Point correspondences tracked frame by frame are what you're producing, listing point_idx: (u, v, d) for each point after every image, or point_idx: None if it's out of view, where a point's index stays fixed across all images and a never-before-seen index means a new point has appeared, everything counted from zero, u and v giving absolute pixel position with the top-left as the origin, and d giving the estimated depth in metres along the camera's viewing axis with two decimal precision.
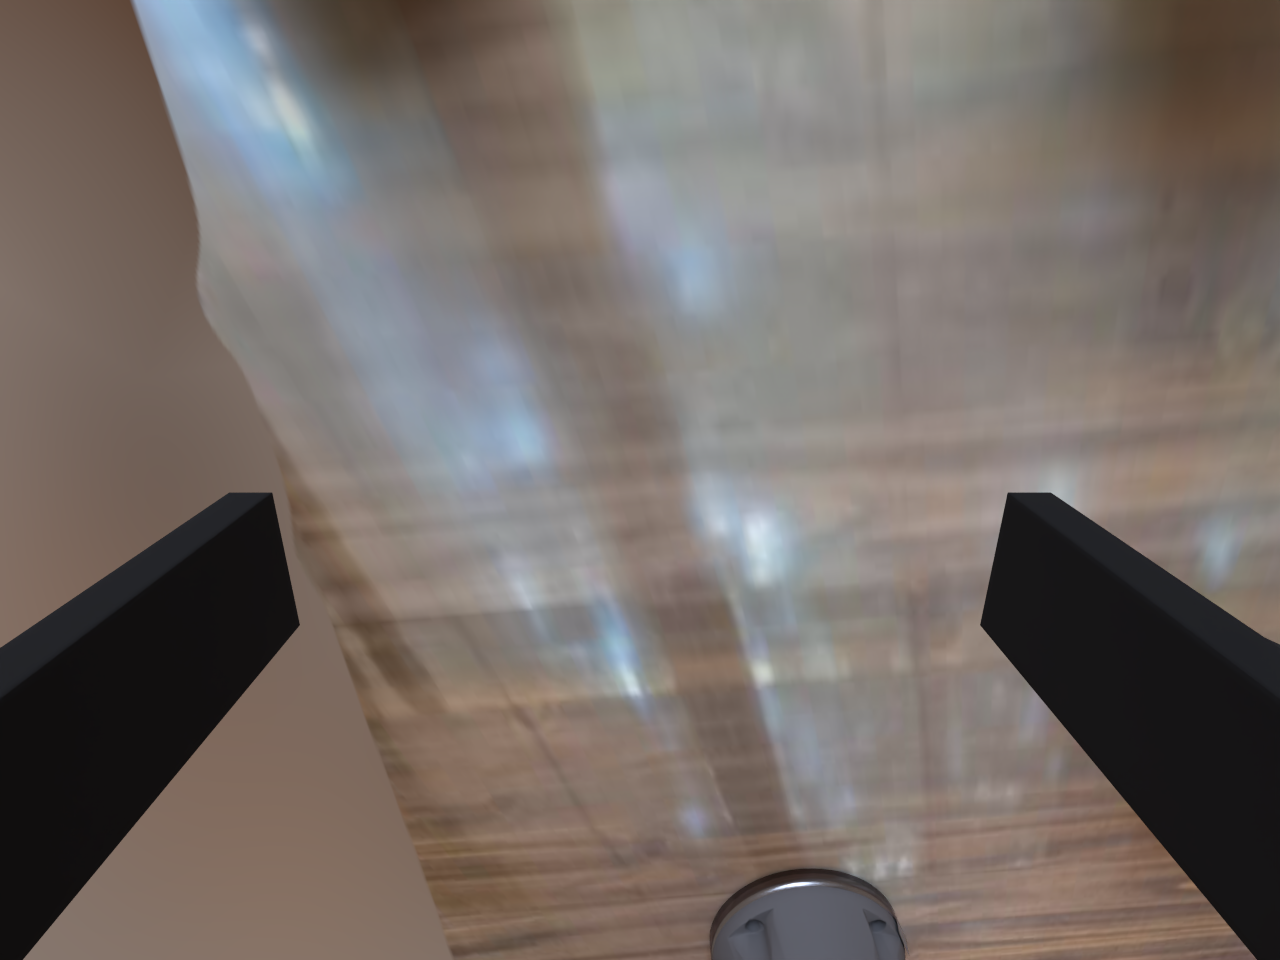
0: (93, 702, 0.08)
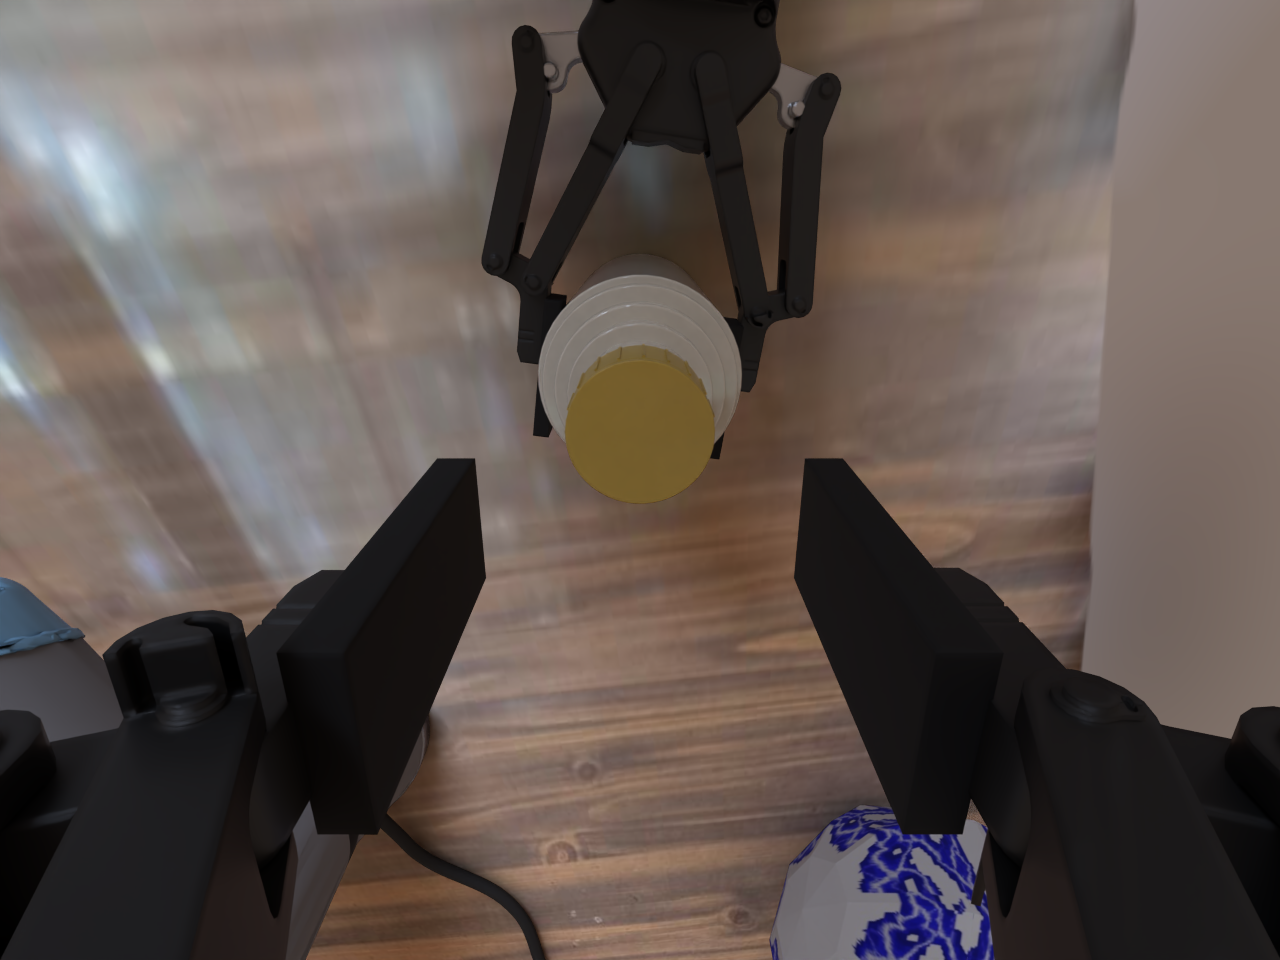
0: (407, 618, 0.10)
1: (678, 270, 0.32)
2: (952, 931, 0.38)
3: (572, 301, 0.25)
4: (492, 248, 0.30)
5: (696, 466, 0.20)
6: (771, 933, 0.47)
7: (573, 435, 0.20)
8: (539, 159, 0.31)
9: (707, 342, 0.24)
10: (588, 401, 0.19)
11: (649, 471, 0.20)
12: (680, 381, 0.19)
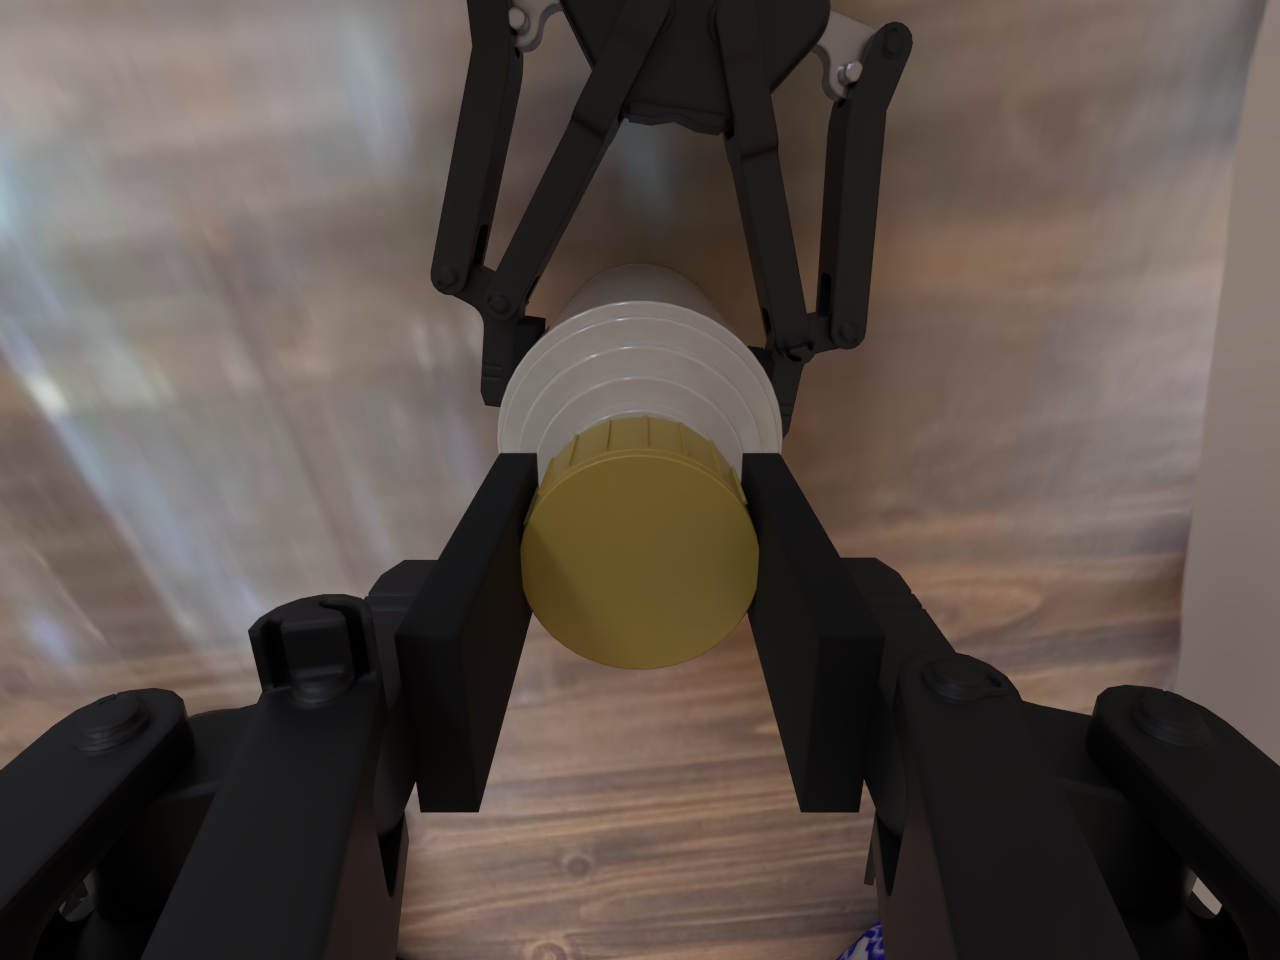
0: (496, 605, 0.10)
1: (689, 287, 0.25)
2: None
3: (543, 338, 0.18)
4: (444, 259, 0.23)
5: (729, 615, 0.13)
6: None
7: (532, 570, 0.12)
8: (507, 142, 0.24)
9: (737, 400, 0.16)
10: (555, 519, 0.12)
11: (654, 623, 0.13)
12: (706, 488, 0.12)
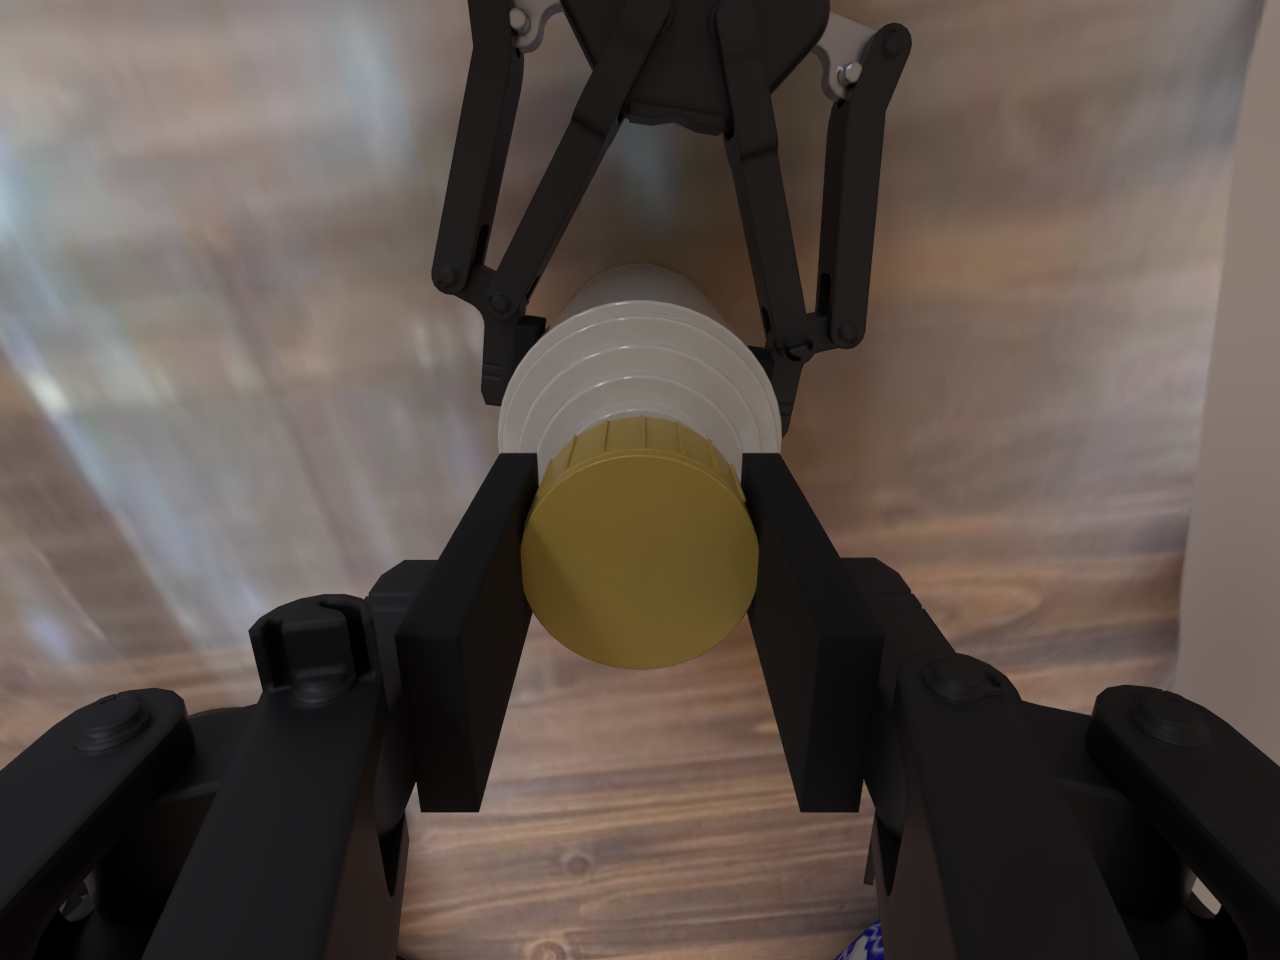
0: (496, 605, 0.10)
1: (689, 286, 0.25)
2: None
3: (544, 337, 0.18)
4: (445, 259, 0.23)
5: (686, 478, 0.12)
6: None
7: (651, 658, 0.13)
8: (508, 142, 0.24)
9: (737, 399, 0.16)
10: (595, 643, 0.13)
11: (701, 549, 0.12)
12: (543, 520, 0.12)
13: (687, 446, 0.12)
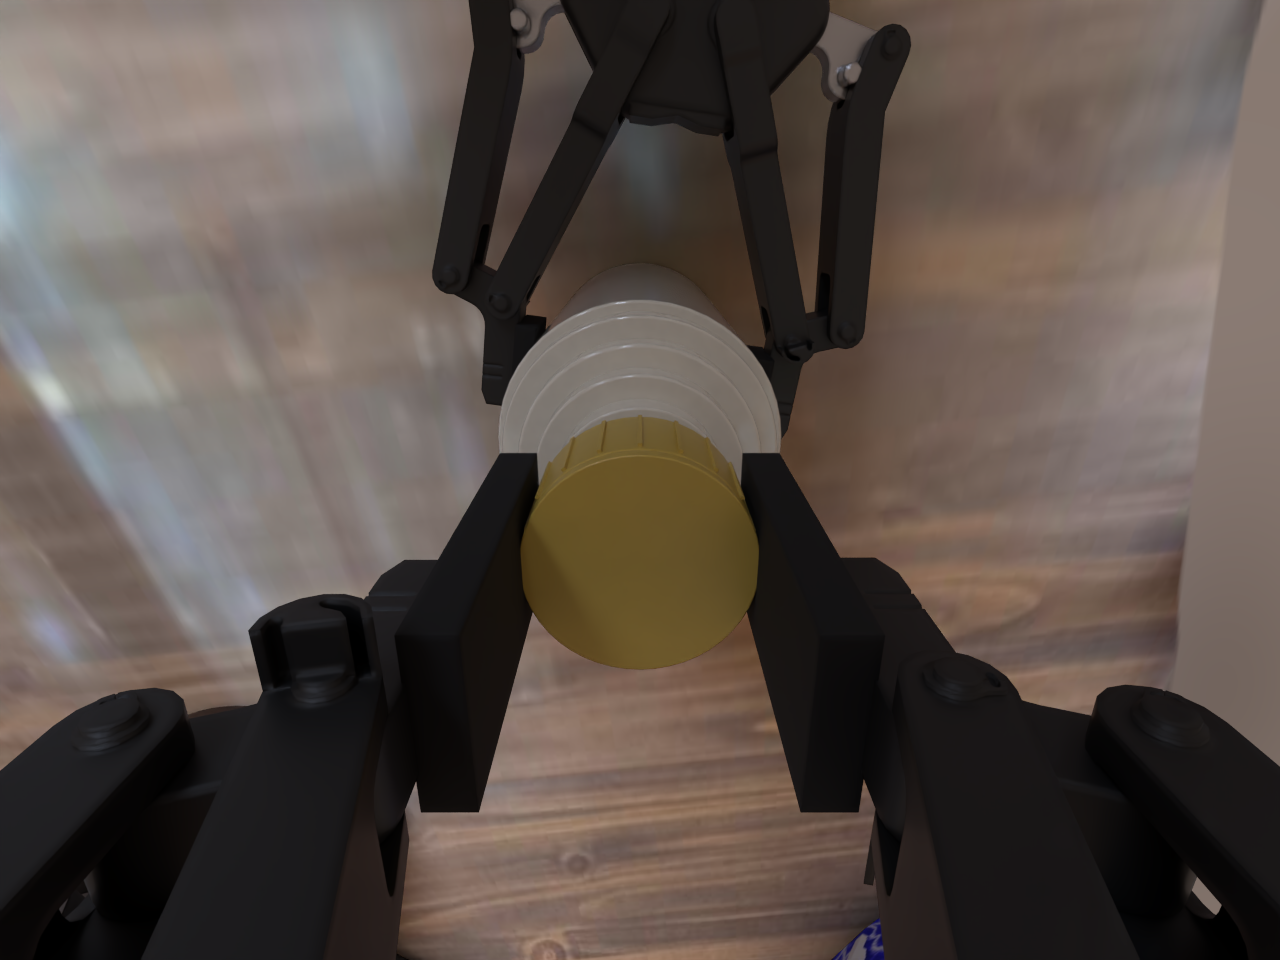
0: (496, 605, 0.10)
1: (689, 286, 0.25)
2: None
3: (544, 336, 0.18)
4: (446, 258, 0.23)
5: (536, 539, 0.12)
6: None
7: (745, 548, 0.12)
8: (508, 142, 0.24)
9: (737, 398, 0.17)
10: (729, 602, 0.12)
11: (610, 516, 0.12)
12: (598, 652, 0.13)
13: (531, 512, 0.13)
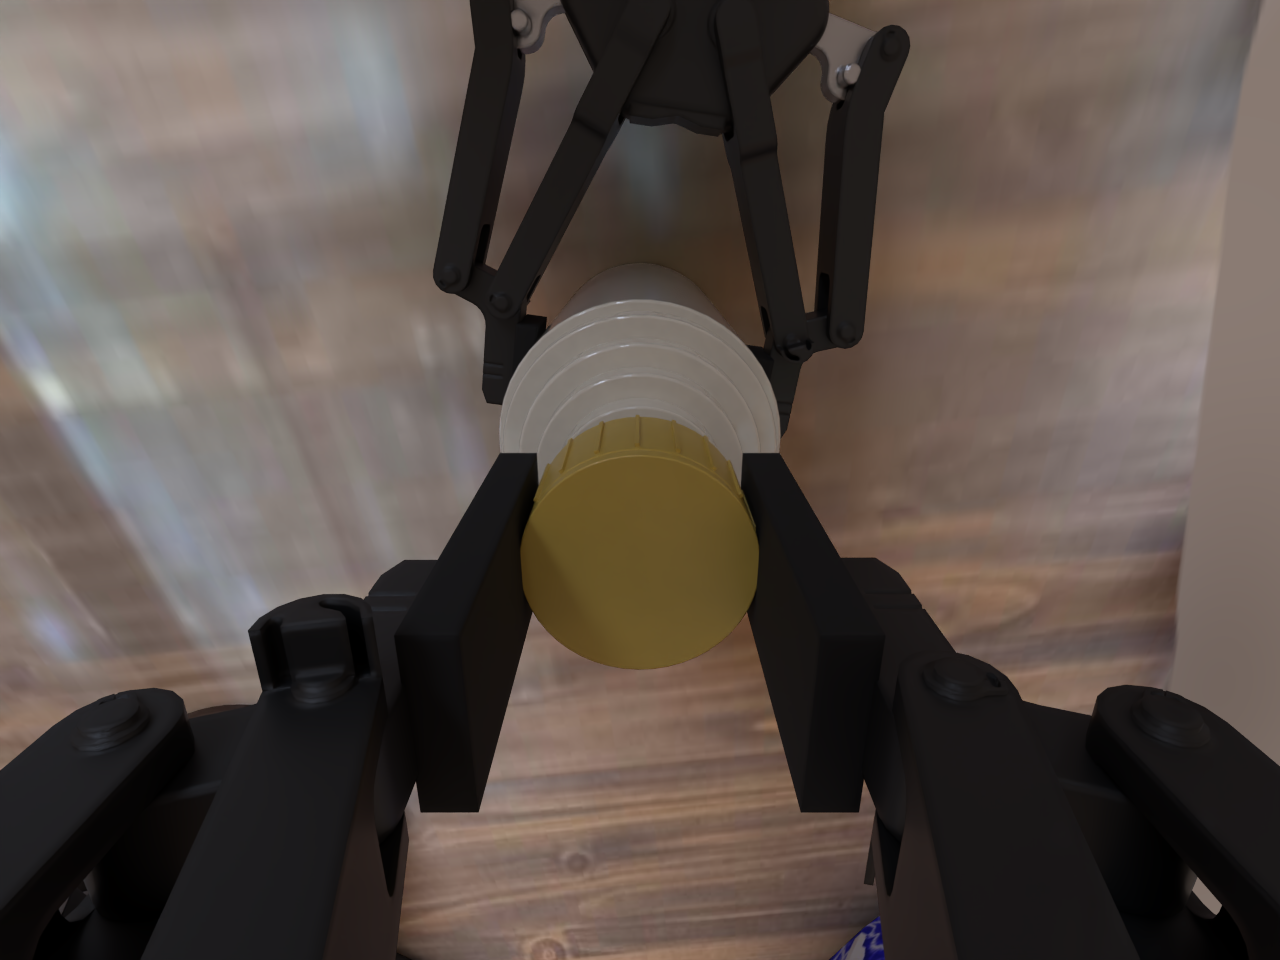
0: (496, 605, 0.10)
1: (689, 286, 0.25)
2: None
3: (545, 336, 0.18)
4: (447, 258, 0.23)
5: (618, 657, 0.13)
6: None
7: (603, 474, 0.12)
8: (509, 142, 0.24)
9: (736, 397, 0.17)
10: (668, 481, 0.12)
11: (586, 599, 0.12)
12: (740, 597, 0.12)
13: None
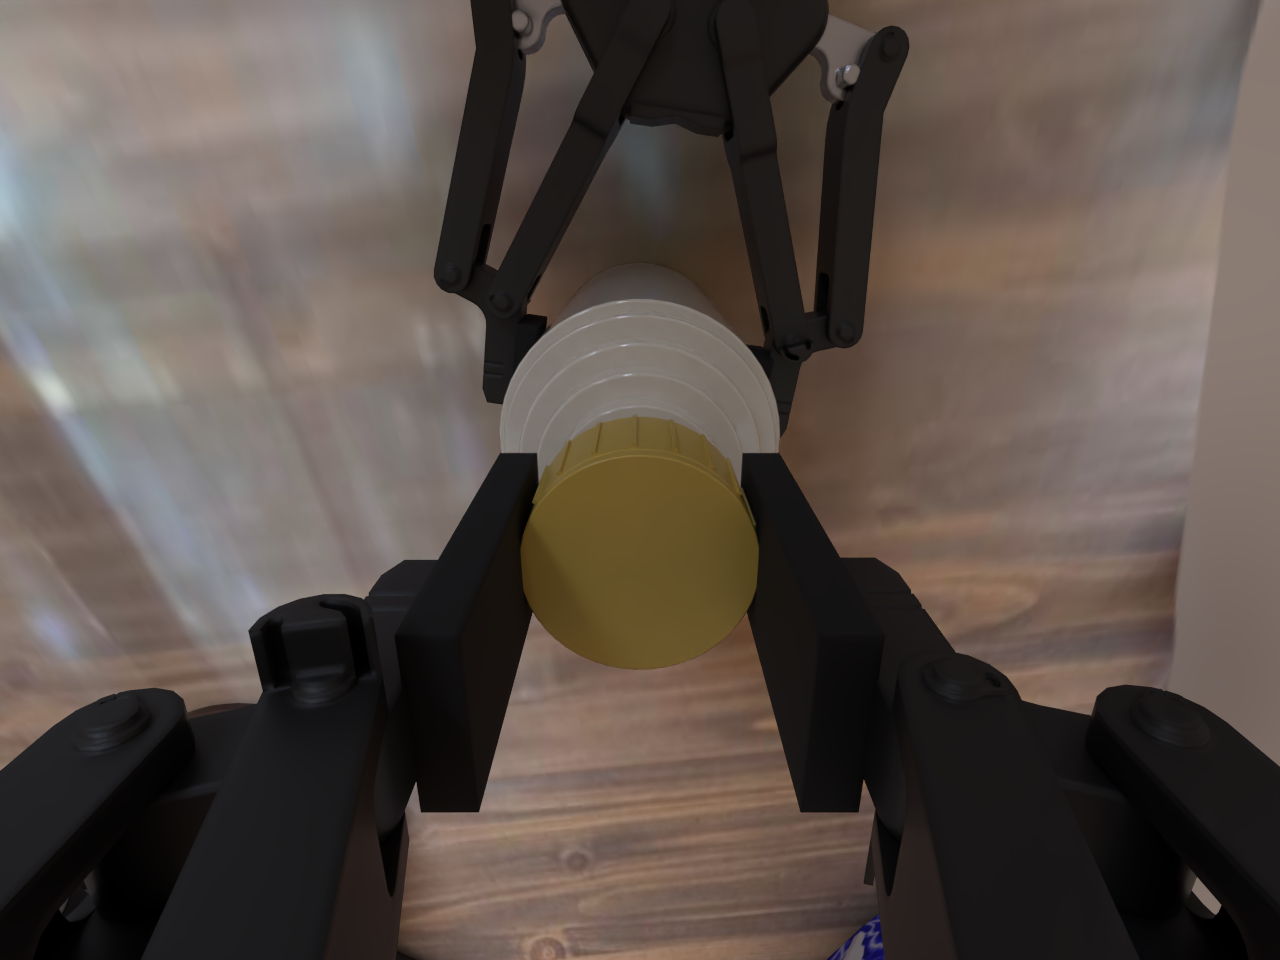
0: (496, 605, 0.10)
1: (689, 286, 0.25)
2: None
3: (545, 335, 0.18)
4: (447, 258, 0.23)
5: (745, 579, 0.12)
6: None
7: (544, 608, 0.12)
8: (510, 142, 0.24)
9: (736, 397, 0.17)
10: (541, 554, 0.12)
11: (678, 613, 0.12)
12: (662, 470, 0.12)
13: None
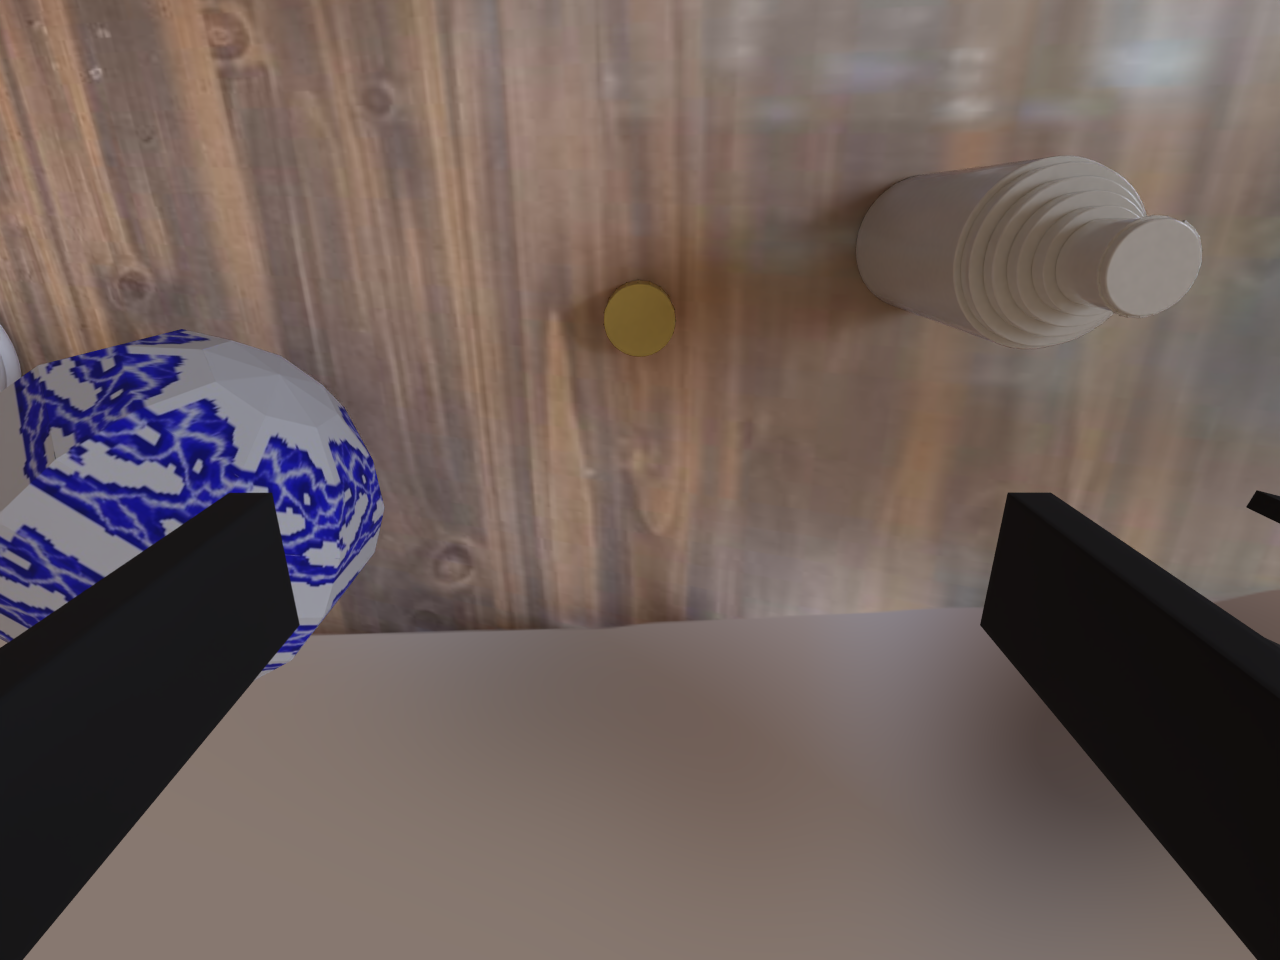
0: (93, 702, 0.08)
1: None
2: (320, 539, 0.35)
3: None
4: None
5: (671, 324, 0.41)
6: (194, 332, 0.37)
7: (611, 334, 0.42)
8: None
9: (1092, 324, 0.28)
10: (610, 315, 0.41)
11: (651, 336, 0.42)
12: (646, 288, 0.41)
13: None
